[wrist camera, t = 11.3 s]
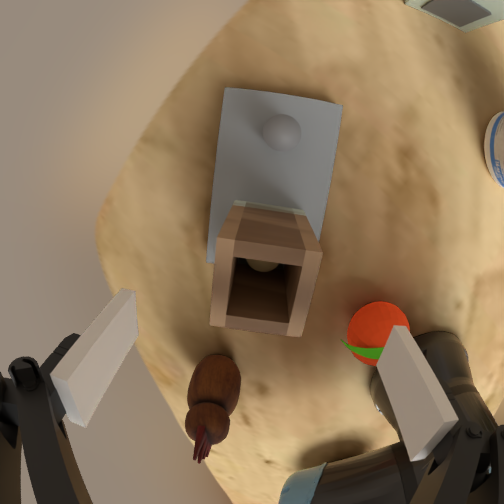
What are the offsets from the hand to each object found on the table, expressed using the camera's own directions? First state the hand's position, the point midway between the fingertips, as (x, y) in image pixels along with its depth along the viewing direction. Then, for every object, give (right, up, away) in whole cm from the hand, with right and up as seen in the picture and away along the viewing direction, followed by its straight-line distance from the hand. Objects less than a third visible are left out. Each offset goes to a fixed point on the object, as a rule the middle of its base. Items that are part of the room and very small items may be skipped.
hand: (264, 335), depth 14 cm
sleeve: (+1, +5, +13) cm, 14 cm away
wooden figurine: (-5, -10, +22) cm, 25 cm away
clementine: (+12, -3, +18) cm, 22 cm away
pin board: (+1, +10, +13) cm, 17 cm away
